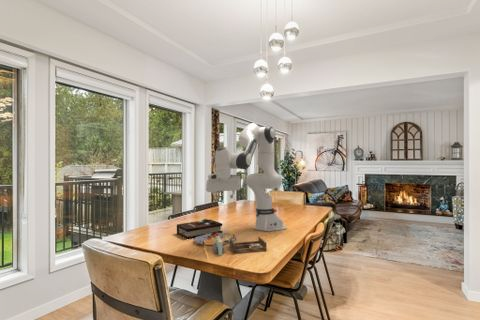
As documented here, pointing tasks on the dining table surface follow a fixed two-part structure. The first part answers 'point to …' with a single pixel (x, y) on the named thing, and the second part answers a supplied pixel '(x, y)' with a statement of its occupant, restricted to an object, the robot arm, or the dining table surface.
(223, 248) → the stand
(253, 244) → the offcut upper
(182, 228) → the decorative book
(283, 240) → the dining table surface
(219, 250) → the board
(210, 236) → the food plate
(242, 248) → the rack
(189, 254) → the dining table surface
